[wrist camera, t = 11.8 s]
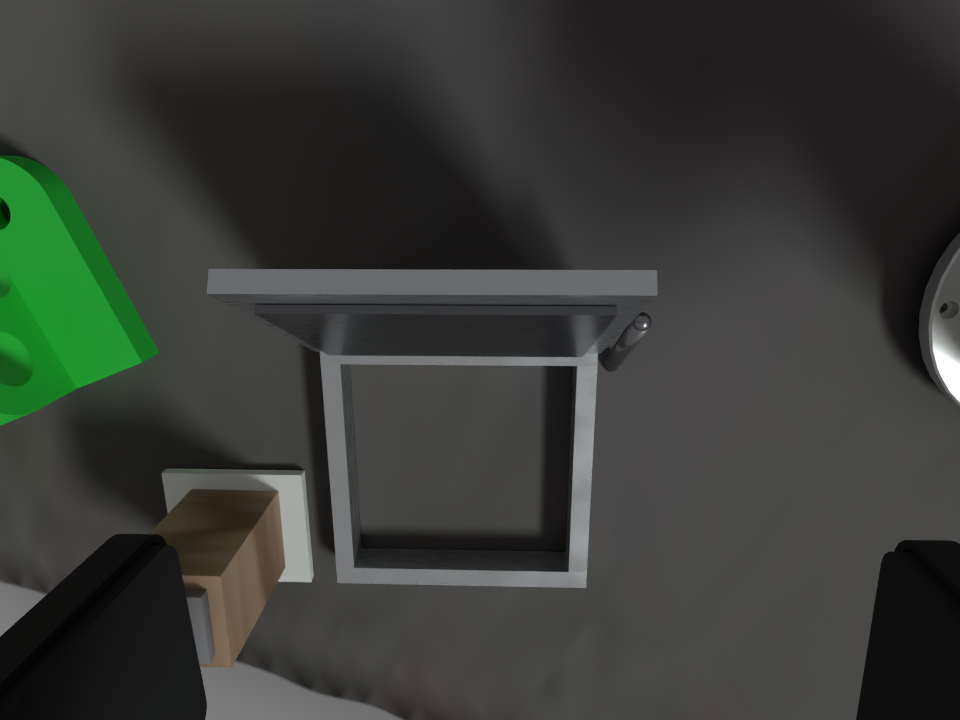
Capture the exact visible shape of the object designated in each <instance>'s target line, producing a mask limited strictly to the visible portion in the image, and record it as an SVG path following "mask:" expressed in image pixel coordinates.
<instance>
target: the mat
mask: <svg viewBox="0 0 960 720" xmlns="http://www.w3.org/2000/svg"><path fill="white" fill-rule="evenodd" d="M161 474H162V480H163V487H164V493H165V499H166V505H167V512H168V513H169V512H170V511H171V510H172V509H173V508H174V507H175V506H176V505H177V504H178V503H179V502H180V501H181V500H182V499H183V497H184V496H185V495H186V494H187V493H188V492H189V491H190V490H191V489H216V490H257V491H279V502H280V513H281V524H282V534H283V545H284V556H285V569H284V571H283V573H282V575H281V577H280V578H279V580H278V582H311V581H312V579H313V577H314V572H313V561H312V550H311V539H310V528H309V516H308V505H307V494H306V483H305V472H304V470H237V469H166V470H164V471H163V472H162V473H161Z"/></svg>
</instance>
